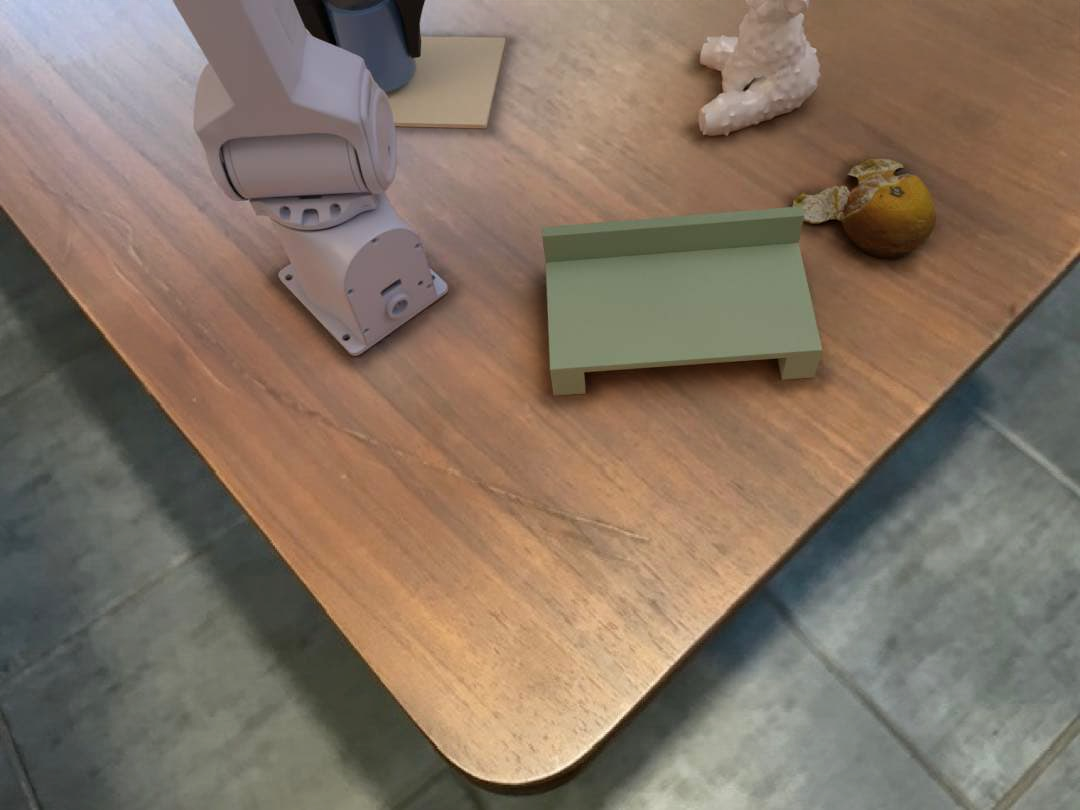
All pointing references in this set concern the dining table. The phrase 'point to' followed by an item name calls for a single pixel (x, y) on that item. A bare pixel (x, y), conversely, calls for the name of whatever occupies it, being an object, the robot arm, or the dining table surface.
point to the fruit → (877, 209)
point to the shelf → (678, 294)
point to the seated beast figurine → (760, 67)
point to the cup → (373, 38)
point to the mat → (450, 83)
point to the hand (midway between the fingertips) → (377, 52)
